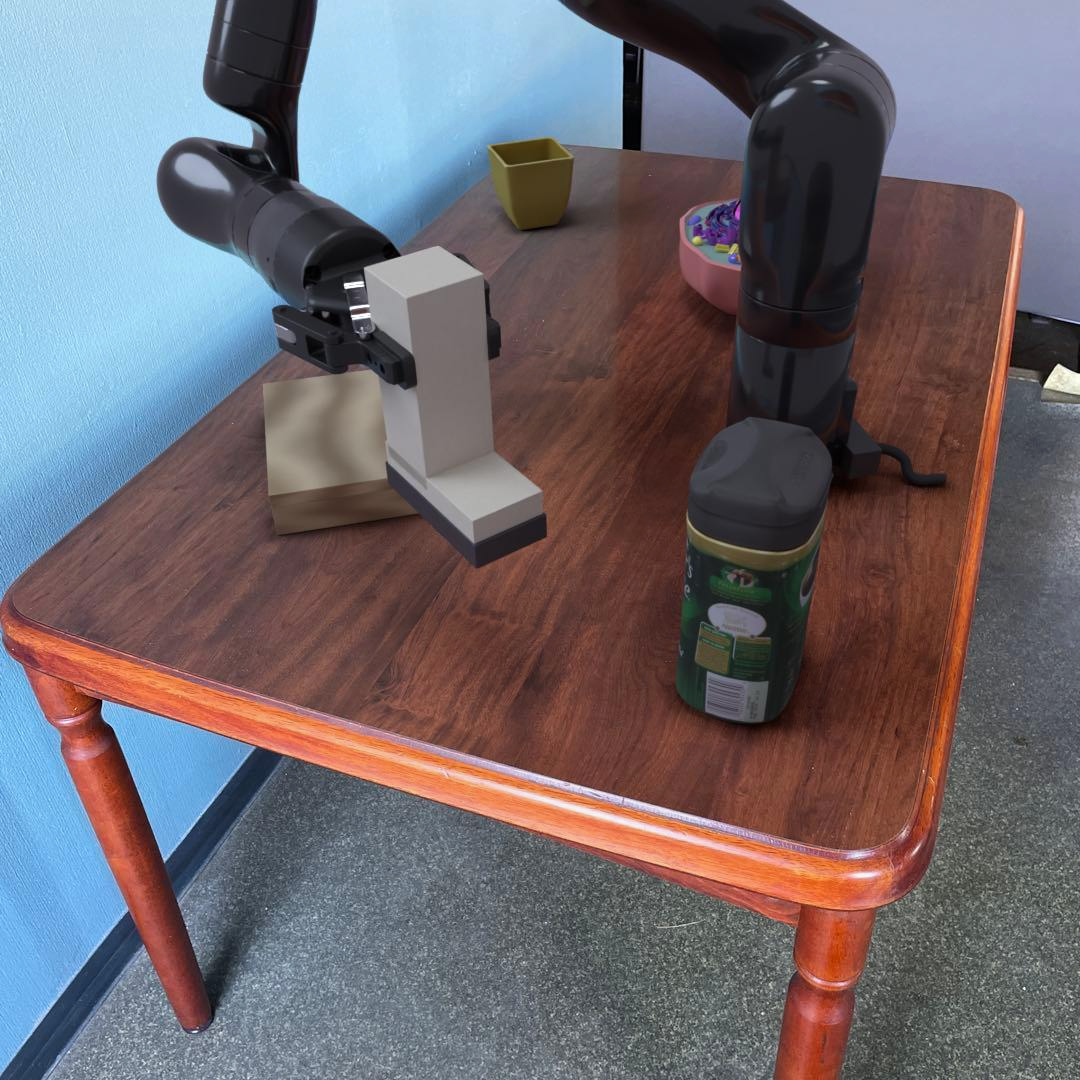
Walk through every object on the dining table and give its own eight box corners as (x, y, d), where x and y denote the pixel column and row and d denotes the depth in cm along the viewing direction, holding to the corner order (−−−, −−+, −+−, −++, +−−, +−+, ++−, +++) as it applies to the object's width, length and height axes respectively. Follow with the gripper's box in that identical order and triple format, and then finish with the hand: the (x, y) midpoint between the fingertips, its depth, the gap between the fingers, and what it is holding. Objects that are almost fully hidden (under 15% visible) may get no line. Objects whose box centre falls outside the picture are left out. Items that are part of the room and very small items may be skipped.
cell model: (652, 333, 112) (657, 229, 105) (694, 257, 127) (700, 161, 120) (817, 355, 108) (833, 248, 101) (840, 273, 122) (855, 174, 115)
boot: (387, 483, 71) (357, 264, 62) (454, 457, 74) (435, 241, 64) (476, 569, 64) (457, 337, 55) (547, 537, 67) (541, 308, 57)
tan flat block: (398, 403, 102) (393, 366, 100) (424, 512, 89) (420, 473, 86) (270, 420, 101) (262, 383, 98) (277, 535, 87) (268, 495, 84)
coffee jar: (701, 617, 78) (721, 395, 66) (810, 646, 75) (850, 419, 64) (658, 710, 71) (672, 479, 59) (777, 744, 68) (816, 510, 57)
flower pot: (490, 214, 139) (486, 143, 133) (554, 204, 141) (552, 135, 135) (508, 239, 132) (505, 166, 127) (575, 229, 134) (575, 157, 129)
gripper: (211, 234, 68) (332, 337, 57) (409, 182, 74) (554, 265, 63) (235, 341, 72) (351, 455, 61) (419, 284, 78) (555, 377, 67)
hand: (453, 358), depth 62 cm, fingers closed on boot, 5 cm apart
